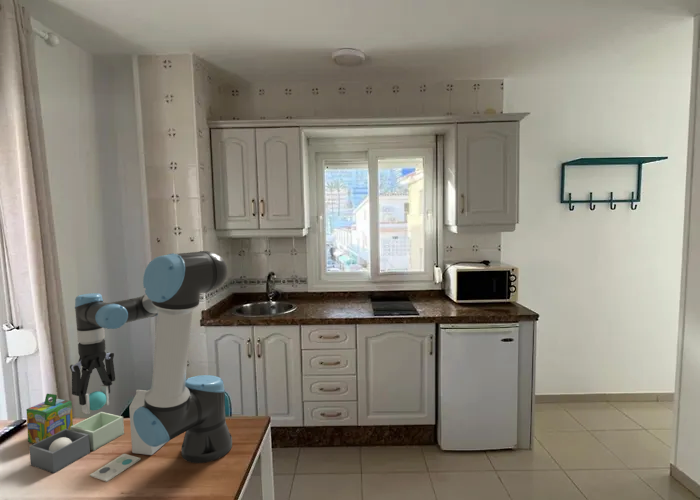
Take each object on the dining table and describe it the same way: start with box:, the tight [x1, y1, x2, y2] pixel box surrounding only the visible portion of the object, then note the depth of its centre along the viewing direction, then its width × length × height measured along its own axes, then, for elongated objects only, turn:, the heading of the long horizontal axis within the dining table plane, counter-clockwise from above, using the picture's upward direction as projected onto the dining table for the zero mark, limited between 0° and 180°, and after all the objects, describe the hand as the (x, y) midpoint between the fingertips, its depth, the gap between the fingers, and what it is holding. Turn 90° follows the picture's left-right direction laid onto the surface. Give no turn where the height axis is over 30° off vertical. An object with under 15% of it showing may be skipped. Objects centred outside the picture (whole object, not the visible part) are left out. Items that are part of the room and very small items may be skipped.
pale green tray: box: [70, 411, 125, 451], centre depth 133 cm, size 11×11×6 cm
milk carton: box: [129, 389, 166, 456], centre depth 127 cm, size 7×7×19 cm
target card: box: [89, 453, 141, 483], centre depth 118 cm, size 7×11×1 cm, turn 158°
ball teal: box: [88, 390, 106, 411], centre depth 132 cm, size 6×6×6 cm
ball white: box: [49, 437, 72, 452], centre depth 122 cm, size 6×6×6 cm
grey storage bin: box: [28, 429, 91, 474], centre depth 122 cm, size 11×11×6 cm
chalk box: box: [26, 393, 74, 444], centre depth 134 cm, size 9×9×15 cm
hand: (96, 408), depth 133 cm, fingers closed on ball teal, 6 cm apart
